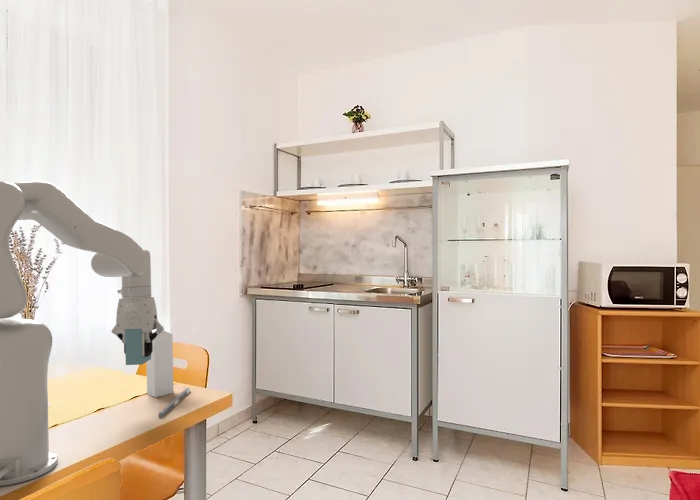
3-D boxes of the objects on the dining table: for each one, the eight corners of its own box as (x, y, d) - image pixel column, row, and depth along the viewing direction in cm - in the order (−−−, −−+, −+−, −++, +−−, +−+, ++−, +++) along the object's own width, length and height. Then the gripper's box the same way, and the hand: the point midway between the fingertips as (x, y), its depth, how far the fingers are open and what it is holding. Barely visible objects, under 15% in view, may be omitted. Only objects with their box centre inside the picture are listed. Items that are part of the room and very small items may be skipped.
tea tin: (142, 364, 123) (141, 329, 123) (125, 365, 123) (124, 329, 123) (151, 359, 129) (150, 325, 129) (135, 359, 129) (134, 325, 129)
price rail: (163, 417, 120) (163, 413, 120) (158, 417, 120) (158, 413, 120) (190, 391, 142) (190, 387, 142) (186, 391, 142) (186, 387, 142)
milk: (155, 398, 137) (153, 327, 137) (146, 393, 141) (145, 325, 141) (174, 392, 141) (172, 324, 141) (165, 389, 146) (164, 322, 145)
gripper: (99, 294, 122) (101, 360, 122) (161, 293, 123) (163, 358, 123) (113, 291, 130) (115, 353, 130) (171, 290, 130) (173, 351, 130)
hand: (138, 355), depth 126 cm, fingers closed on tea tin, 4 cm apart
